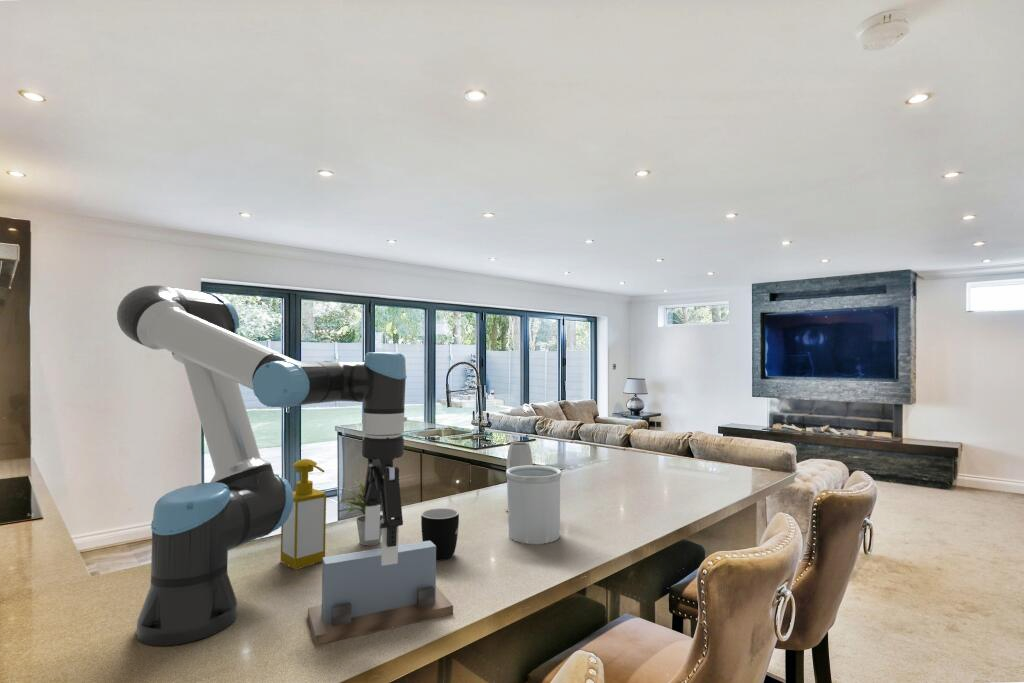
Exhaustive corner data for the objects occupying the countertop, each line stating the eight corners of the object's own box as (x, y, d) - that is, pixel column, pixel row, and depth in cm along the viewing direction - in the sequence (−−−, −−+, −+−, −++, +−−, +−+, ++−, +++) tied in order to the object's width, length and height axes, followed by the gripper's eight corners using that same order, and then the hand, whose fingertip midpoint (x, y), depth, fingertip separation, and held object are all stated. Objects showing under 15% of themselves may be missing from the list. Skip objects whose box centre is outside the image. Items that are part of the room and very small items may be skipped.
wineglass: (533, 515, 161) (533, 445, 162) (505, 514, 161) (505, 445, 162) (532, 507, 170) (533, 441, 171) (505, 507, 170) (506, 441, 171)
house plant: (352, 531, 144) (353, 471, 145) (402, 532, 144) (403, 472, 145) (332, 549, 130) (334, 483, 131) (388, 550, 130) (389, 483, 130)
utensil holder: (532, 550, 131) (532, 478, 132) (494, 535, 142) (494, 469, 143) (572, 537, 141) (572, 471, 141) (534, 524, 152) (534, 463, 152)
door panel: (324, 623, 90) (325, 564, 91) (321, 614, 94) (322, 557, 94) (435, 599, 100) (436, 546, 100) (429, 592, 103) (430, 540, 103)
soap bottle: (306, 576, 114) (308, 466, 115) (280, 561, 123) (282, 459, 124) (336, 567, 119) (338, 462, 120) (310, 553, 128) (312, 455, 129)
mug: (461, 560, 123) (461, 517, 124) (422, 564, 121) (423, 519, 121) (453, 543, 135) (453, 503, 135) (417, 547, 133) (418, 506, 133)
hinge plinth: (315, 645, 86) (315, 617, 86) (307, 616, 96) (308, 591, 96) (453, 613, 97) (453, 588, 97) (433, 590, 107) (433, 568, 107)
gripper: (423, 444, 89) (420, 572, 88) (386, 426, 111) (383, 528, 110) (378, 446, 85) (374, 579, 84) (350, 427, 107) (346, 533, 107)
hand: (379, 551), depth 97 cm, fingers open, 13 cm apart
